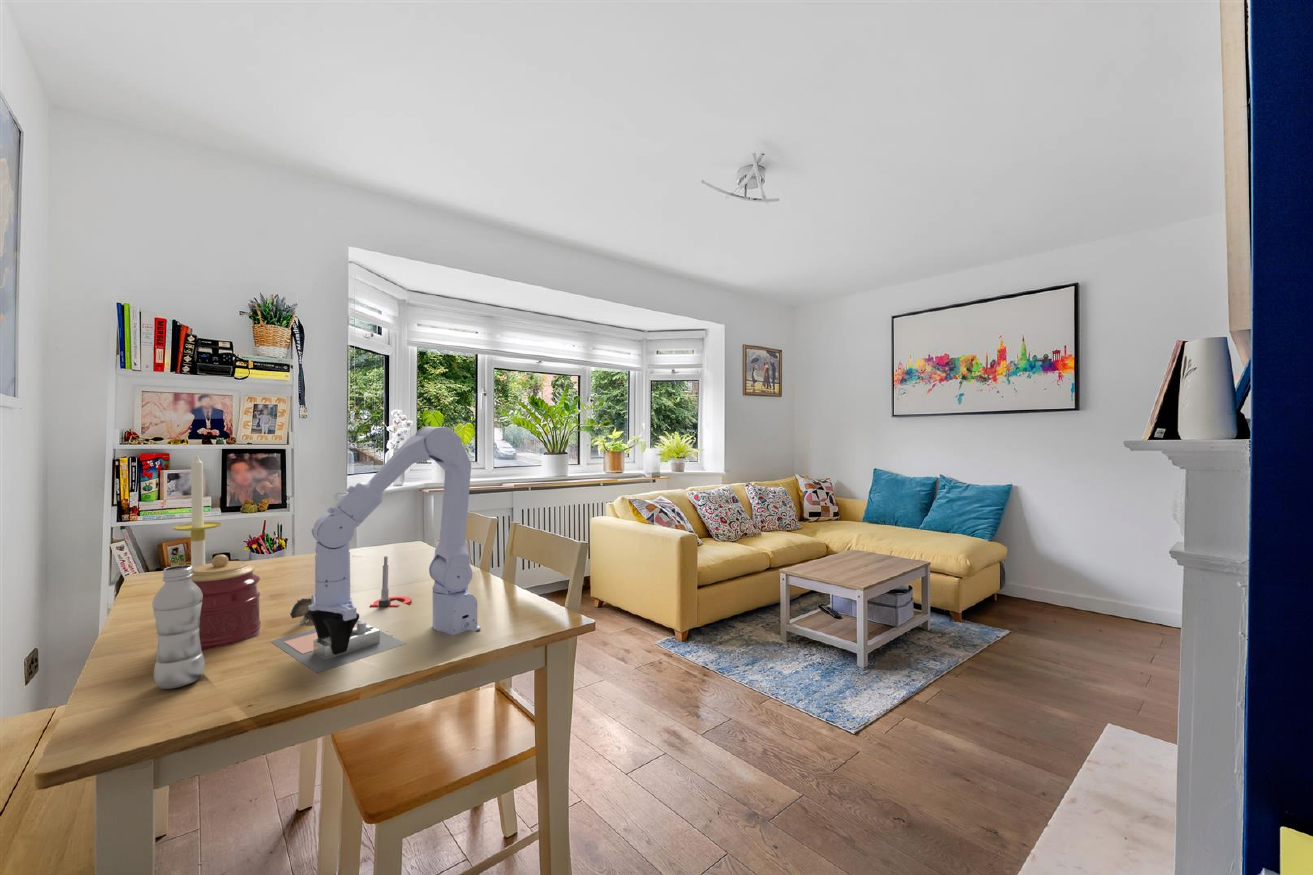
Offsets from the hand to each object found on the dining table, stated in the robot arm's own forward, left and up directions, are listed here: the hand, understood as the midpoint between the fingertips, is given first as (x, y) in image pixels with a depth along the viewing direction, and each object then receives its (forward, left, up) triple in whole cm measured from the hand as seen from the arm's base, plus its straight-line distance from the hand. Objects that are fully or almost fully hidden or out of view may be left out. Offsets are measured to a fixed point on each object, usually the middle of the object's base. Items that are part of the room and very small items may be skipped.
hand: (333, 648), depth 102 cm
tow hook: (+20, -22, -2) cm, 29 cm away
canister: (+26, +10, -2) cm, 28 cm away
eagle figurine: (+21, -4, -2) cm, 22 cm away
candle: (+50, +8, -2) cm, 51 cm away
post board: (+4, -3, -2) cm, 5 cm away
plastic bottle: (+9, +20, -2) cm, 22 cm away
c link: (0, -3, -1) cm, 3 cm away
